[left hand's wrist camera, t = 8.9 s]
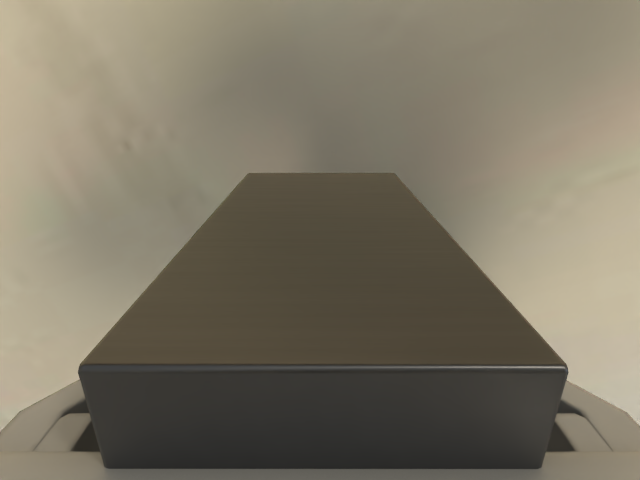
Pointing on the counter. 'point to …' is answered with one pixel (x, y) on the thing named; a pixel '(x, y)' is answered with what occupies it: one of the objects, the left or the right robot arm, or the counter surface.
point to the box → (322, 343)
